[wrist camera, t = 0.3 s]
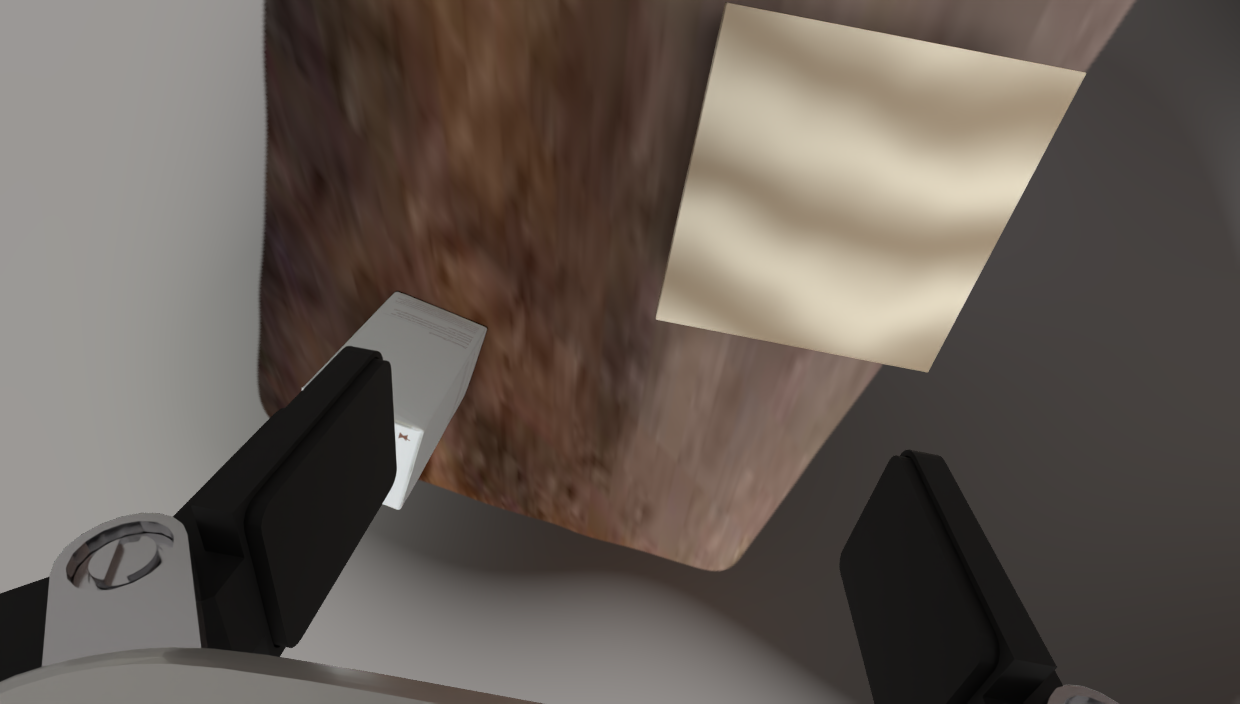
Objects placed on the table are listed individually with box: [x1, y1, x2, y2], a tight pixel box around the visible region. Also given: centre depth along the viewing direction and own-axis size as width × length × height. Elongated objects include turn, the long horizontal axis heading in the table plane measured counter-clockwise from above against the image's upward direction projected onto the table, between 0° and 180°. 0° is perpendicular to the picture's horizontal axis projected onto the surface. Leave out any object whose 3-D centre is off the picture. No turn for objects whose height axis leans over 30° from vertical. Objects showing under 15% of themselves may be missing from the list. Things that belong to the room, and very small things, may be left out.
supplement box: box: [302, 292, 487, 510], centre depth 41 cm, size 7×7×13 cm
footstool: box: [656, 2, 1086, 372], centre depth 34 cm, size 16×16×8 cm
